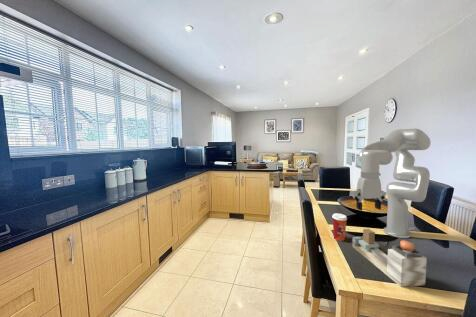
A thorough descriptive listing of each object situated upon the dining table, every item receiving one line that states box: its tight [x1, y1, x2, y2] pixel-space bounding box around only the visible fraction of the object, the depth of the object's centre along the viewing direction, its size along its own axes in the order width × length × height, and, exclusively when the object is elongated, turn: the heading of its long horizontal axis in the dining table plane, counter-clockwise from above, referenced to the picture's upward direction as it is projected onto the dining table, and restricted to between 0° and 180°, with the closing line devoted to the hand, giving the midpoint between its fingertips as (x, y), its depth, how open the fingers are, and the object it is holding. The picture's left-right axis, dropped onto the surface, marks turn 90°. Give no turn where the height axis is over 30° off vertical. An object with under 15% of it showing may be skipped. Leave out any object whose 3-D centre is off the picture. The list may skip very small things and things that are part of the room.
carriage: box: [358, 228, 380, 251], centre depth 96 cm, size 7×5×9 cm
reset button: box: [399, 239, 415, 252], centre depth 75 cm, size 4×4×2 cm
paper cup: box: [331, 212, 348, 242], centre depth 109 cm, size 8×8×14 cm
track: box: [351, 235, 428, 288], centre depth 86 cm, size 10×28×13 cm, turn 3°
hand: (368, 209), depth 95 cm, fingers open, 9 cm apart
